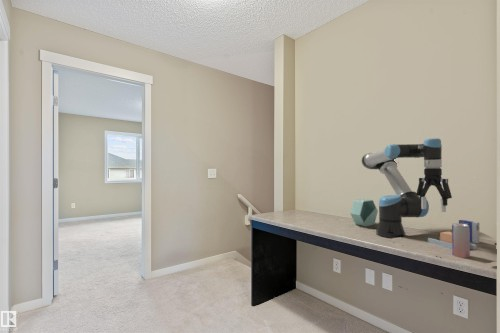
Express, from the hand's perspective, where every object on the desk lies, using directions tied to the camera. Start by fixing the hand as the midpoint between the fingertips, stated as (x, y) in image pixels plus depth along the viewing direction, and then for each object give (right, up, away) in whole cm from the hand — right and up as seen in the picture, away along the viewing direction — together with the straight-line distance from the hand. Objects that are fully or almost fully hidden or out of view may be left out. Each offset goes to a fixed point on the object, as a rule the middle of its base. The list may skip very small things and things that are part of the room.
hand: (433, 210), depth 133 cm
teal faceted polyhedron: (-16, -18, +45) cm, 51 cm away
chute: (+3, -17, -8) cm, 20 cm away
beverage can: (-4, -18, -22) cm, 29 cm away
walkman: (+18, -18, -1) cm, 25 cm away
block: (+3, -16, -8) cm, 18 cm away
